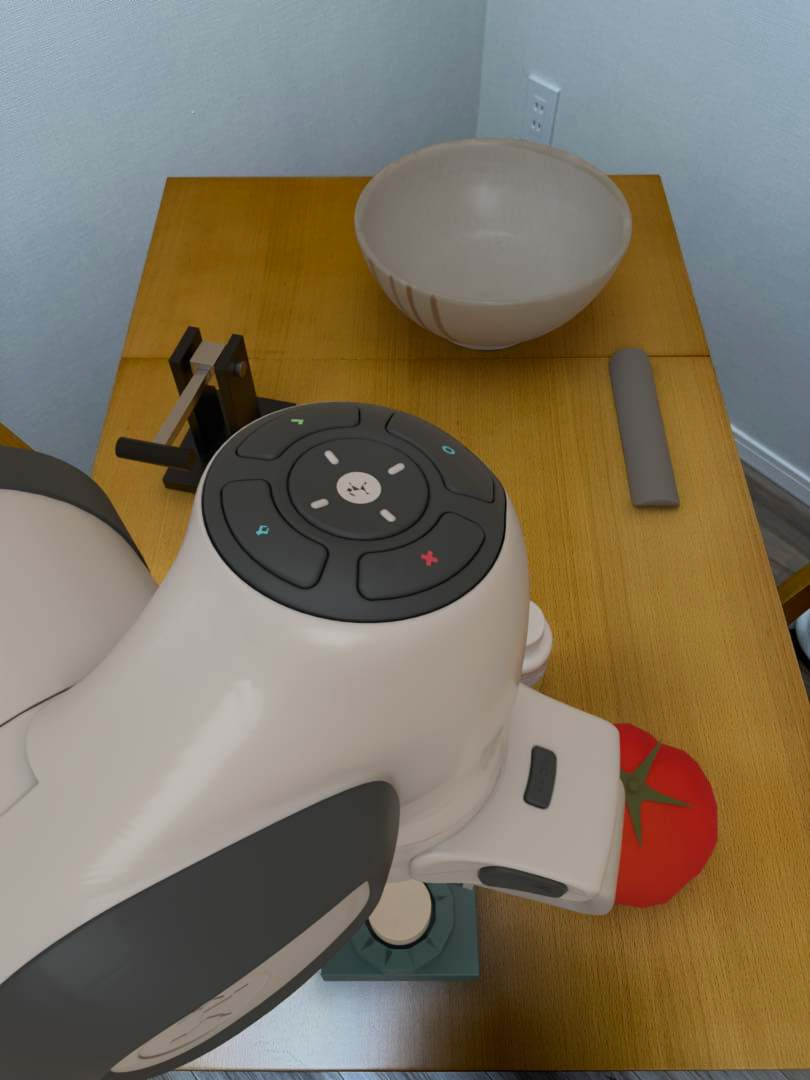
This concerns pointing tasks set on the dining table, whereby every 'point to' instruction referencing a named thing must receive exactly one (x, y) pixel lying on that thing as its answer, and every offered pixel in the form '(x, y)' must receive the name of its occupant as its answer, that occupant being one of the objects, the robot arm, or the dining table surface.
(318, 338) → the dining table surface
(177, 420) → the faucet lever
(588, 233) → the decorative bowl
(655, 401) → the gray half cylinder
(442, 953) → the push button box
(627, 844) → the tomato
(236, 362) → the lever stand
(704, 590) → the dining table surface
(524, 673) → the supplement bottle
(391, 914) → the beige push button
